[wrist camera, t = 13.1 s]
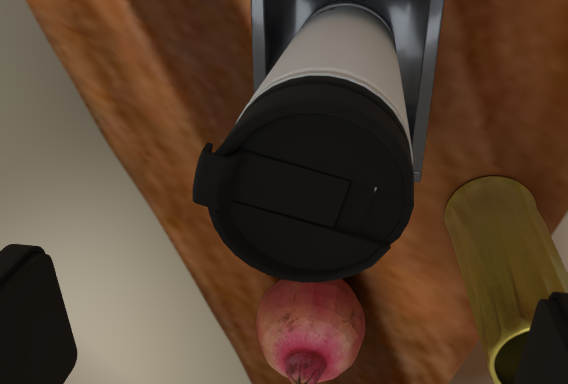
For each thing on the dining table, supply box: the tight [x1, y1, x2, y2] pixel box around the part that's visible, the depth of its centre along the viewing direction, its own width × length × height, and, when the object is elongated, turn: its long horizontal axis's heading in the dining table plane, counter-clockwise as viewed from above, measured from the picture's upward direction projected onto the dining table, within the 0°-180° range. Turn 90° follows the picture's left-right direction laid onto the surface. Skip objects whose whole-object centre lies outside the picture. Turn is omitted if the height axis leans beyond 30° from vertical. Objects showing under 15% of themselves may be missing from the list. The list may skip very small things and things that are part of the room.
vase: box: [444, 176, 568, 384], centre depth 30 cm, size 6×6×14 cm
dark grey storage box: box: [251, 0, 444, 182], centre depth 30 cm, size 11×9×7 cm
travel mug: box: [193, 1, 414, 282], centre depth 23 cm, size 6×7×20 cm
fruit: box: [256, 279, 365, 384], centre depth 37 cm, size 8×8×10 cm
